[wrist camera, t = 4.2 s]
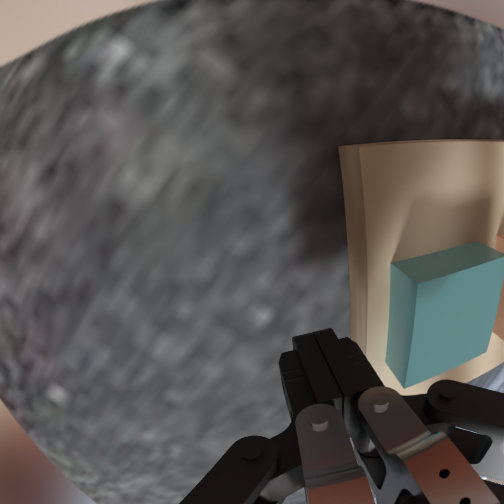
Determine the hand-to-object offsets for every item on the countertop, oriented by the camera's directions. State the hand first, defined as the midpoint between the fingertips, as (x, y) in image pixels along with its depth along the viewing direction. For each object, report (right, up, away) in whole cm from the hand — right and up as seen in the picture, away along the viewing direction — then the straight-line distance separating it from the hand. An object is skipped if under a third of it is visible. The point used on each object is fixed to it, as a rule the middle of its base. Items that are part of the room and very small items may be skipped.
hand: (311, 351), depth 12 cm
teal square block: (+6, +1, +1) cm, 6 cm away
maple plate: (+9, +3, +3) cm, 9 cm away
